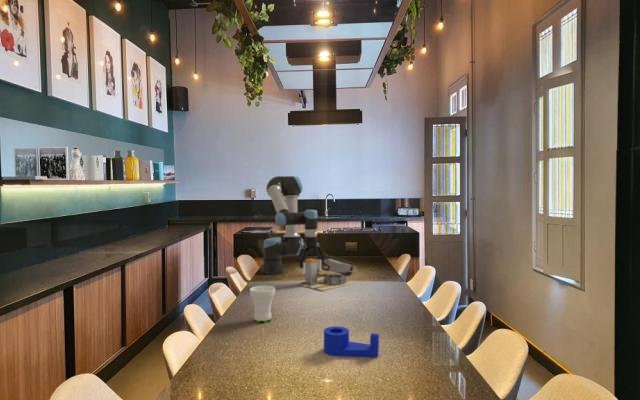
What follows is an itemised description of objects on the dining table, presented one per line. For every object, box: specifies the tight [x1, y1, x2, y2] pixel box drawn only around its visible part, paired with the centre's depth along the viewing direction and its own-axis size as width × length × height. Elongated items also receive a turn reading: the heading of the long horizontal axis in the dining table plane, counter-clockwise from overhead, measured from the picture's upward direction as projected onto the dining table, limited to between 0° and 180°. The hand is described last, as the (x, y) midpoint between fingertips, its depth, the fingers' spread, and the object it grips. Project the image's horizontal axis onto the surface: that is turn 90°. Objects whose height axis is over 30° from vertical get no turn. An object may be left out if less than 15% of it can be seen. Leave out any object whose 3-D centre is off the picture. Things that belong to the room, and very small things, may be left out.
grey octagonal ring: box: [323, 273, 347, 285], centre depth 256 cm, size 13×13×4 cm
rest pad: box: [300, 281, 322, 286], centre depth 254 cm, size 9×9×1 cm
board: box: [296, 276, 355, 292], centre depth 255 cm, size 22×26×1 cm
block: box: [304, 257, 318, 284], centre depth 253 cm, size 5×5×14 cm
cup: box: [249, 285, 276, 324], centre depth 188 cm, size 11×11×14 cm
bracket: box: [323, 325, 380, 358], centre depth 153 cm, size 20×9×8 cm, turn 76°
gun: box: [313, 252, 355, 277], centre depth 280 cm, size 5×27×15 cm, turn 90°
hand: (311, 271), depth 253 cm, fingers open, 13 cm apart
